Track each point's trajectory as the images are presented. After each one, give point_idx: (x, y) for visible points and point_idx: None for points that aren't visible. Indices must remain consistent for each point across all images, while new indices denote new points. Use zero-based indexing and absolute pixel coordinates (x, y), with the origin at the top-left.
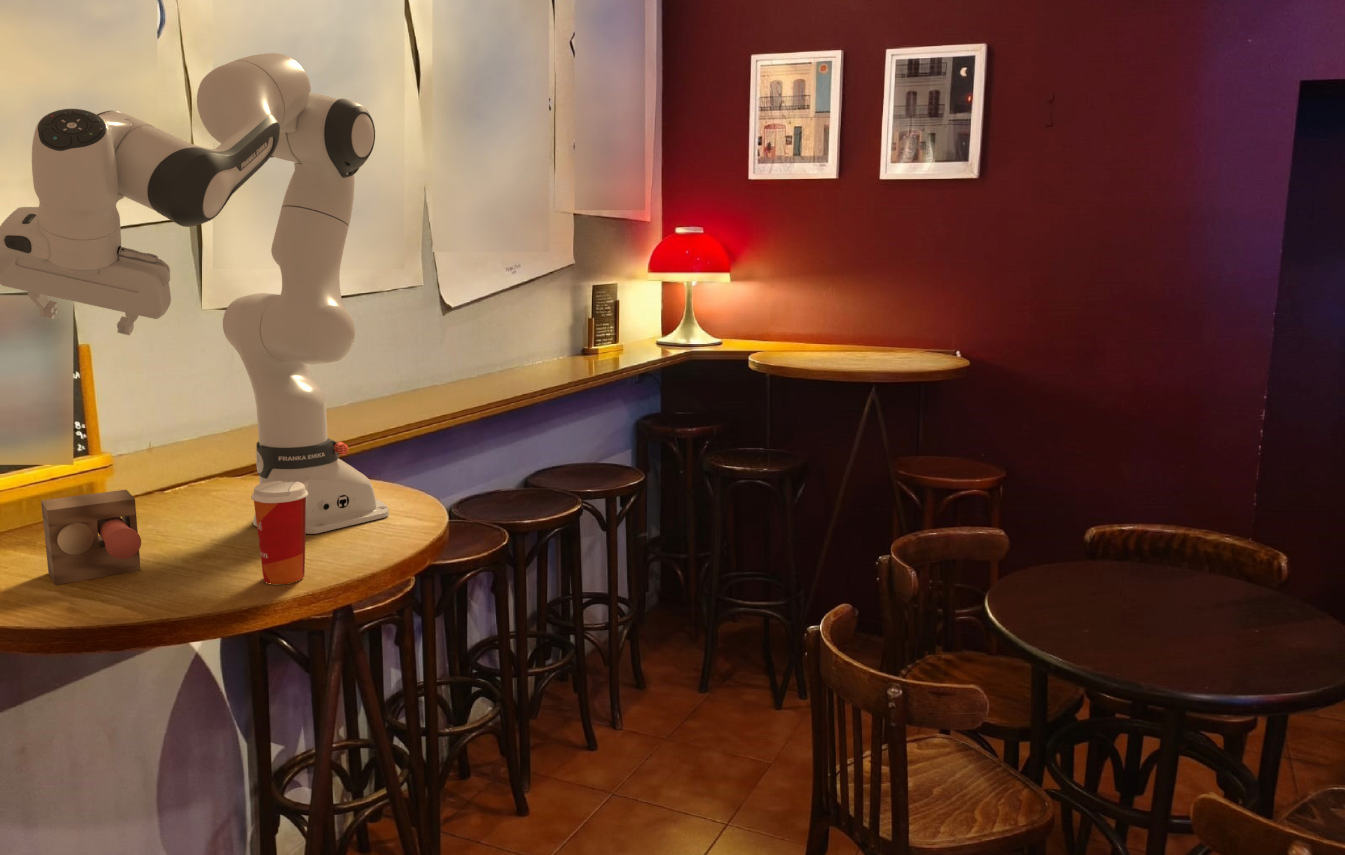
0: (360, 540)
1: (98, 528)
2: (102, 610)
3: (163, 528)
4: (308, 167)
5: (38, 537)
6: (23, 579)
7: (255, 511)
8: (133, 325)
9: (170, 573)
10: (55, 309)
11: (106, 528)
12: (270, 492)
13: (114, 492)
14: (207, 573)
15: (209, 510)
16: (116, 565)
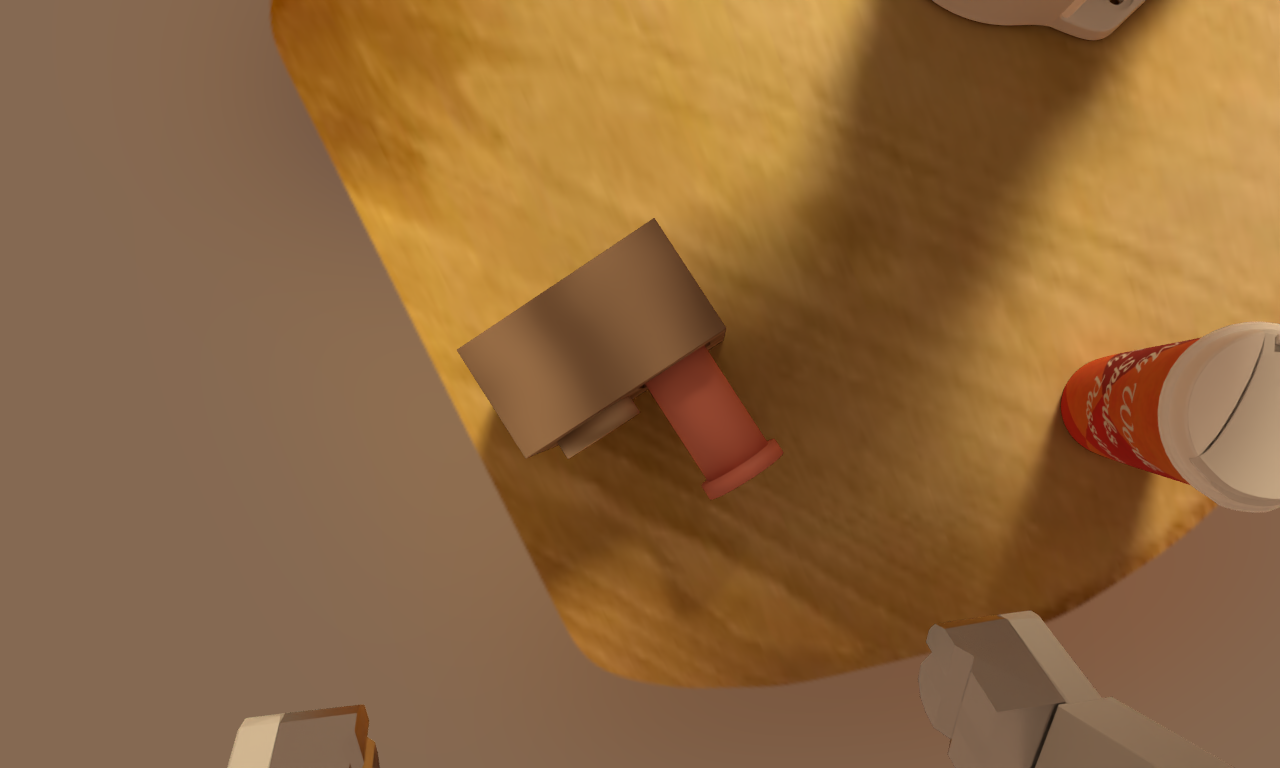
0: (1252, 86)
1: None
2: (745, 604)
3: None
4: None
5: (358, 82)
6: (477, 399)
7: (1153, 448)
8: (1050, 634)
9: (805, 362)
10: (353, 764)
11: (674, 414)
12: (1266, 495)
13: (633, 256)
14: (898, 364)
15: None
16: None
